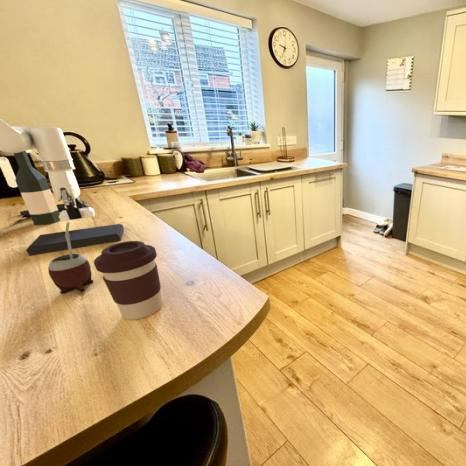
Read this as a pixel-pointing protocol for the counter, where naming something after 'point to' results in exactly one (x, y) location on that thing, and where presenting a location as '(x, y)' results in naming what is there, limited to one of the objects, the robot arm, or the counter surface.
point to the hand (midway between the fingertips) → (77, 215)
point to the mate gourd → (70, 270)
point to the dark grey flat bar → (76, 239)
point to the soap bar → (83, 211)
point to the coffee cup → (131, 278)
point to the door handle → (60, 207)
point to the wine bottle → (35, 192)
